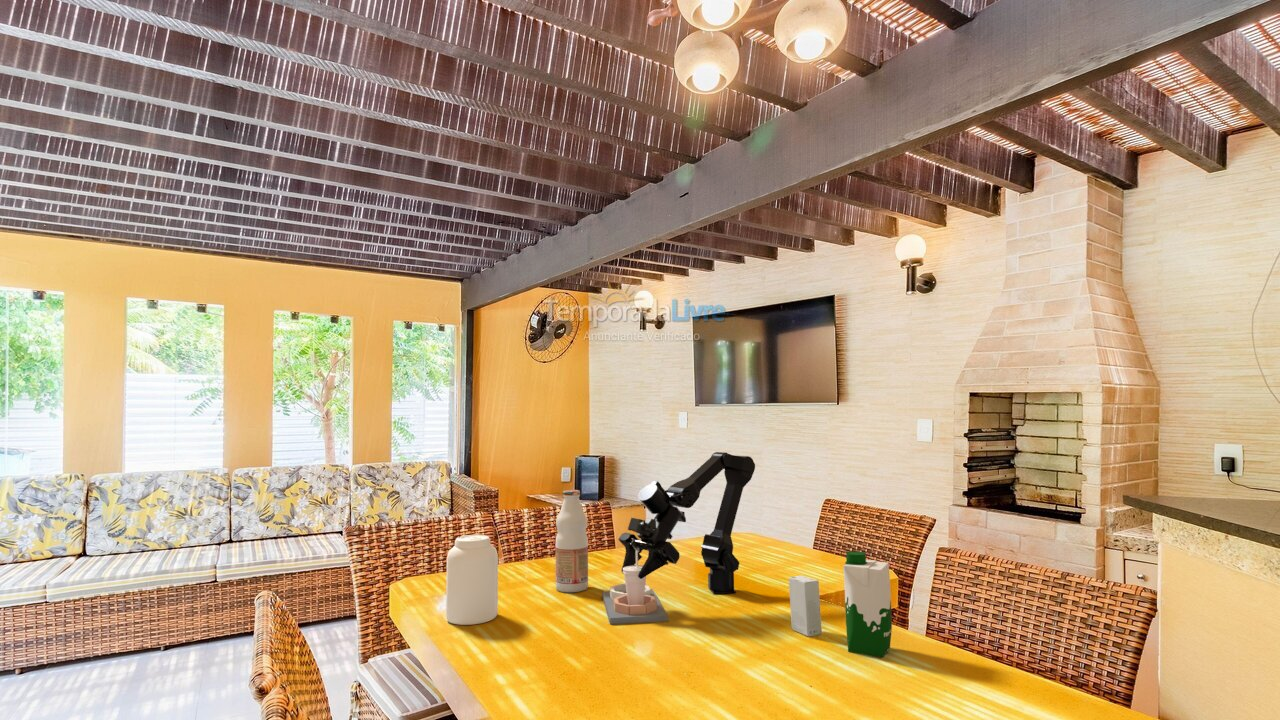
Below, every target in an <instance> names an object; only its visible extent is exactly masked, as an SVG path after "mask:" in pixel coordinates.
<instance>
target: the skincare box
mask: <svg viewBox="0 0 1280 720" xmlns="http://www.w3.org/2000/svg"><path fill="white" fill-rule="evenodd" d="M819 583H820V582H819V580H818V579H815V578H813V577H808V576H804V575H796V576H795V575H794V576H789V577H788V588H789V604H790V606H789V607H790V621H791V630H793V631H795V632H796V633H799V634H801V635H804V636H806V637H817V636H820V635H822V633H823V631H822V615H821V600H820V598H821V597H820V585H819Z"/></svg>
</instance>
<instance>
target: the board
mask: <svg viewBox="0 0 1280 720" xmlns="http://www.w3.org/2000/svg"><path fill="white" fill-rule="evenodd" d="M601 594H602V595H601V598H602V600H603V605H604V608H605V611H606V615H607V618H608V623H609V625H622V624H623V625H624V624H641V623H642V624H643V623H645V624H646V623H660V622H661V623H663V622H668V614H667V612H666V610H665V609H664V607H663V605H662V604H661V601H660V600H659V598H658V596H657V595H656V593H655V591H654V589H653V588H650V586H649V585H647V584H645V594H644V604H643V605H628V598H627V591H626V584H625V583H617V584H615V585H612V586H610V587H609V590H602V591H601Z"/></svg>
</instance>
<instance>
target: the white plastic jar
mask: <svg viewBox="0 0 1280 720" xmlns="http://www.w3.org/2000/svg"><path fill="white" fill-rule="evenodd" d="M498 568H499V555H498V551H497V548H496V547H495V546H494V545H493V544H492V543H491V538H490V537H489V535H485V534H467V535H461V536H458V537H456V538H455V541H454V546H453V547H451V549H449V550H448V551H447V556H446V581H445V583H446V585H445V586H446V592H445V594H446V597H445V599H446V600H445V601H446V602H445V617H446V620H447V622H448V623H450V624H454V625H460V626H472V625H480V624H485V623H487V622H489V621H493V620H494V619H496V617H497V616H498V612H499V608H498V607H499V606H498V603H499V596H498V595H499V591H498V590H499V580H498V579H499V569H498Z"/></svg>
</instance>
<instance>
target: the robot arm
mask: <svg viewBox="0 0 1280 720" xmlns="http://www.w3.org/2000/svg"><path fill="white" fill-rule="evenodd" d="M723 470H724V472H723V473H724V477H725V481H726V484H725V488H724V492H723V496H722V499H721V503H720V506H719V510H718V513H717V517H716V522H715V524H714V527H713V531H712V532H711V533H710V534H705V535H704V536H703V540H702V541H703V542H702V544H701V546H700V549H701V552H700V554H701V556H702V559H703V563H704V567H705V568H709V572H708V574H707V588H708V589H709V590H710V591H711V593H712V594H715V595H718V594H721V595H722V594H736V593H737V590H736V589H735V573H734V572H736V571H738V570H739V569H740V568H739V567H740V561H739V560H738V559H737V557H736V556H735V555H734V553H733V551H734V542H733V540H732V532H733V528H734V524H735V521H736V516H737V514H738V513H737V512H738V508H739V505H740V502H741V498H742V494H743V490H744V487H745V486H746V485H747V484H748V483H750V481H751V480H752V478H753V475H754V473H755V470H756V464H755V462H754V460H753V458H752V457H751V456H749V455H736V454H735V455H733V454H730V453H728V452H724V451H723V452H720V451H715V452H714V453H712V454H711V456H710V458H708V459H707V460H706V461H705V462H704V463H702V464H701V465H700V467H699V468H697V469H696V470H695V471H694V472H693V473H692V474H691V475H689V476H688V477H687V478H685V479H682V480H679V481H677V482H675V483H673V484H671V485H670V486H669V487H668V488H667V489H666V490H665V489H664V488H663V487H662V485H661V483H660V482H659V481H658V480H652V481H651V483H649V484H647V485H645V487H643V488H641V489H640V491H639V492H638V496H637V498H638V500H639V501H640V502H641V503H642V504H643V506H644V507H645V508H646V509H647V510H648V511H649V512H650V513H651V514H652V515H655V516H654V518H649V517H648V518H647V519H645V520H644V519H641V518H636V517H631V518H630V521H629V523H628V527H627V531H631V532H633V533H630V532H623V533H621V534H620V536H619V537H618V541H619V542H620V543H621V544H622V546H624V548H625V554H624V558H623V563H622V567H621V573H622V574H623V575H624V573H623V568H624V567H626V566H631V565H636V550H637V551H638V562H639V561H640V560H641V559H642V558H643V556H642V555H641V553H642V552H643V550H644V551H647V552H648V555H647V559H646V560H645V562H644V564H642V566H643V567H642V569H641V571H640V573H639V575H638V577H639V578H640V579H642V578H644V577H645V576H646V577H647V576H648V575H650V574H652V573H653V572H655V571H657V570H658V569H660V568H662V567H664V566H665V565H666V566H668V565H669V564H674V565H677V563H678V561H679V560H680V551H679V550H678V549H677V548H676V547H675V546H674V544H673V543H671V542H670V541H667V540H672V538H673V537H674V536H673V535H672V532H673V530H674V529H675V527H676V525H677V523H678V522H680V523H686V521H687V518H686V515H685V513H686V512H685V511H681V510H680V509H679V508H685V509H691V508H692V507H693V506H694V505H695V503H696V502H697V501H698V500H699V498H700V494H701V491H702V490H703V489H704V487H706V486H707V485H708V484H709V483H710V482H711V481H712V480H714V479H715V477H716V476H718V475H719V474H720V473H721V472H722V471H723ZM634 532H635V533H637V534H636V535H635V534H634Z"/></svg>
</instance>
